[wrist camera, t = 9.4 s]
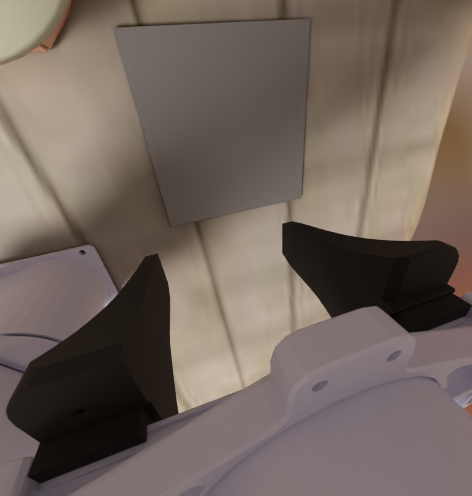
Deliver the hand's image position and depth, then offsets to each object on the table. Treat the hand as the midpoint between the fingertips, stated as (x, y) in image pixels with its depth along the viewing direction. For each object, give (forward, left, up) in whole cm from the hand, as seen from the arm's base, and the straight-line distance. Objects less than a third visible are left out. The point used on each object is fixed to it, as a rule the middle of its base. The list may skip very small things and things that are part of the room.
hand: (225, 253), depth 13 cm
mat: (+4, +5, -10) cm, 12 cm away
